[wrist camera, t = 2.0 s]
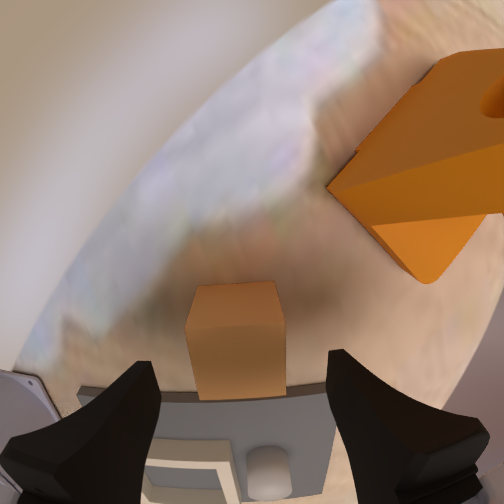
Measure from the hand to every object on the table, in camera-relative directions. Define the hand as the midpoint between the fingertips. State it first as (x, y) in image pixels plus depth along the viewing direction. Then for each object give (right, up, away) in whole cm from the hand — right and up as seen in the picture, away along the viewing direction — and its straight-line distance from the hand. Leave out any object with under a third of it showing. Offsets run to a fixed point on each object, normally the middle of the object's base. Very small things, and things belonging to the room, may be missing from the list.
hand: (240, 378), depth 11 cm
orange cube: (0, +1, +5) cm, 5 cm away
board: (-2, -11, +9) cm, 14 cm away
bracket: (+10, +10, +3) cm, 15 cm away
